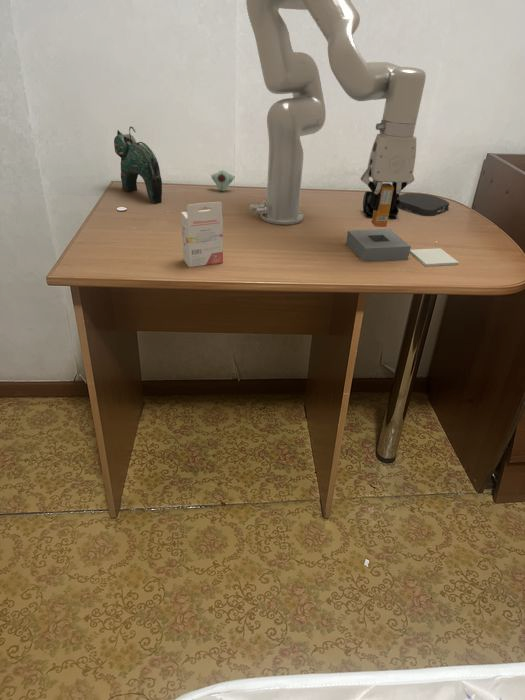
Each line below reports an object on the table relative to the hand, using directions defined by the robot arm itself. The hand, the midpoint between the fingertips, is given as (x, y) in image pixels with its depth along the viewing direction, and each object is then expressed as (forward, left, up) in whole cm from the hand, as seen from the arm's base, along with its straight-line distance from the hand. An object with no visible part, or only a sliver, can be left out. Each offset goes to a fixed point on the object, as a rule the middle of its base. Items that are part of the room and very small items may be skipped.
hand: (382, 207), depth 128 cm
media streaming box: (+30, +33, -12) cm, 46 cm away
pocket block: (0, 0, -11) cm, 11 cm away
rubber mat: (+13, -6, -11) cm, 19 cm away
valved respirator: (-31, +54, -11) cm, 63 cm away
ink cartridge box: (-45, -1, -12) cm, 46 cm away
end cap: (+13, +27, -12) cm, 32 cm away
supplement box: (0, 0, -5) cm, 5 cm away
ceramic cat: (-57, +51, -12) cm, 77 cm away
